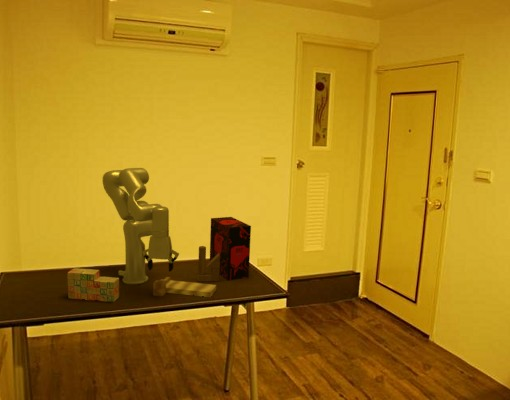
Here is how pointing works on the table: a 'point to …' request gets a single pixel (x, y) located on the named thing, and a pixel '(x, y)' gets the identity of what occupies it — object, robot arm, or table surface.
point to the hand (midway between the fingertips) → (160, 269)
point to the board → (190, 288)
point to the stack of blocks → (92, 285)
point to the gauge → (160, 287)
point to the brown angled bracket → (212, 264)
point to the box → (231, 246)
